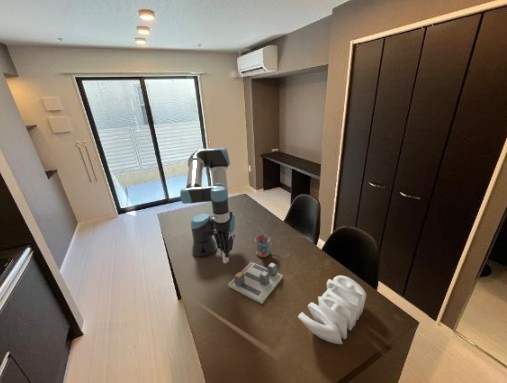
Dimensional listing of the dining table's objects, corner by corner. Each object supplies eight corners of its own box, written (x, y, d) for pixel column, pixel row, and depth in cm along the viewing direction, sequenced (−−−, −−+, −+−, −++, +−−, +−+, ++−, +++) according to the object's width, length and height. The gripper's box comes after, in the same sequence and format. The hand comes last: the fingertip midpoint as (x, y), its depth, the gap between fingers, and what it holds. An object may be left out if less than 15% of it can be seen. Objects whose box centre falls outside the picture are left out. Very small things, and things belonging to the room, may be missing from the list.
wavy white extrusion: (330, 361, 80) (332, 340, 76) (293, 329, 91) (293, 310, 88) (372, 304, 101) (375, 286, 97) (337, 284, 113) (340, 267, 109)
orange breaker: (234, 284, 113) (233, 275, 111) (239, 279, 116) (238, 270, 114) (240, 286, 111) (239, 277, 109) (244, 282, 114) (244, 273, 112)
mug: (259, 260, 133) (259, 245, 129) (252, 252, 141) (252, 237, 137) (277, 254, 138) (277, 239, 134) (269, 246, 146) (269, 232, 142)
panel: (228, 286, 115) (227, 274, 112) (251, 264, 130) (250, 253, 127) (261, 304, 104) (261, 291, 101) (282, 277, 119) (282, 266, 116)
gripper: (206, 219, 106) (211, 261, 115) (227, 226, 99) (231, 270, 107) (217, 213, 112) (221, 253, 120) (237, 219, 105) (240, 261, 113)
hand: (226, 261), depth 114 cm, fingers closed
